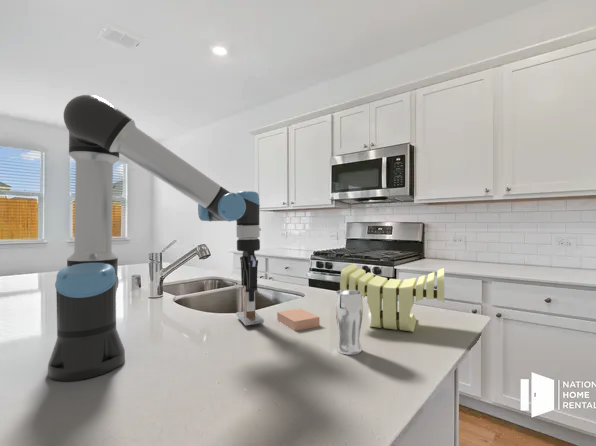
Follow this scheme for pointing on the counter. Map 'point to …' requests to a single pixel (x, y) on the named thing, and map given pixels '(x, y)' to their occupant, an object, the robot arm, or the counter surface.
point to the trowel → (249, 314)
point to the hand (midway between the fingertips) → (249, 309)
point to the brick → (298, 319)
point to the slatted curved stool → (391, 295)
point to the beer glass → (349, 320)
